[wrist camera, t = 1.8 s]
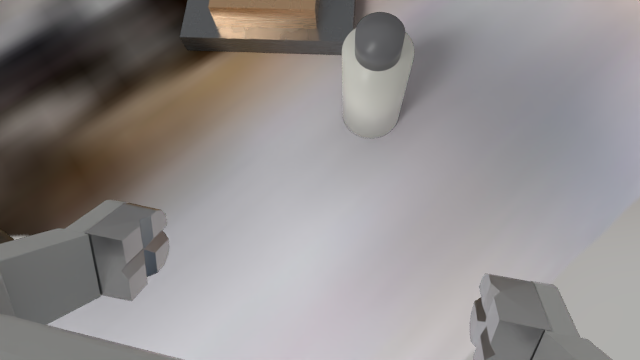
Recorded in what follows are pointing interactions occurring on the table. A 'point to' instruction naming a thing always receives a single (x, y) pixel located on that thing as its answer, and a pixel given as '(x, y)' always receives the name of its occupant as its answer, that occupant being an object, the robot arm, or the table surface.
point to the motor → (268, 25)
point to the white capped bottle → (375, 74)
